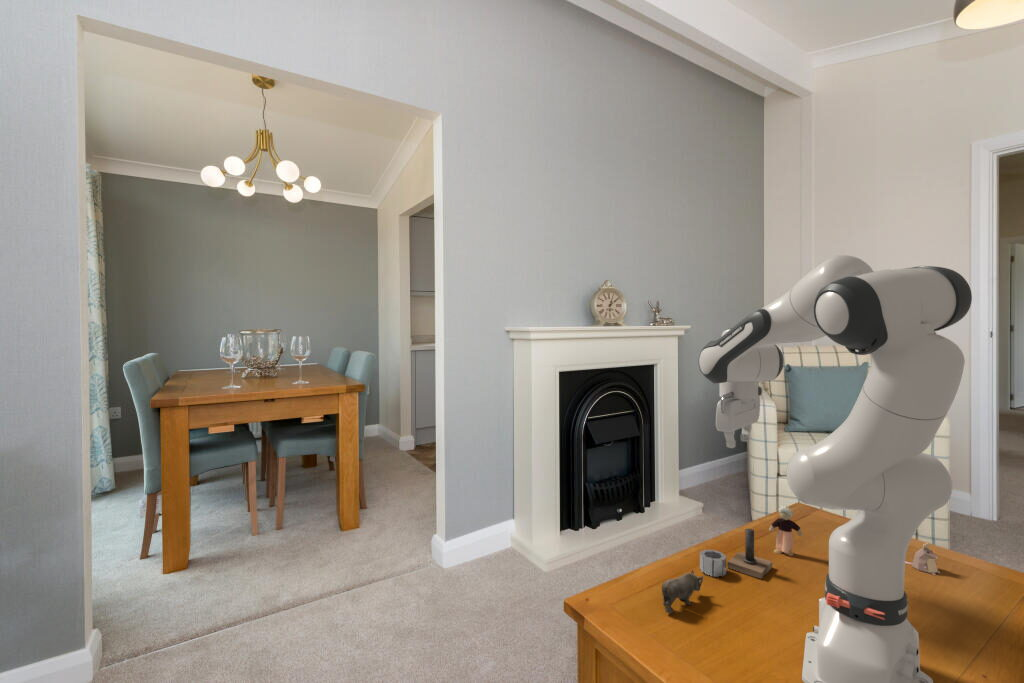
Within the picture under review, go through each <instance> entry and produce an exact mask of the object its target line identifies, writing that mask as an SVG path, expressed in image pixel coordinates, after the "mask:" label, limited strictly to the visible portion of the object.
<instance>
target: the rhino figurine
mask: <svg viewBox="0 0 1024 683" xmlns="http://www.w3.org/2000/svg"><path fill="white" fill-rule="evenodd" d="M703 581H704V576H703V575H702V576H697V575H695V571H694V570H693V569H692V570H691V572H689V573H684V574H683V575H680V576H679V577H675V578H670V579H667V580H665V581H664V582H663V584H662V585H661V594H662V597H663V603H662V605H663V606H664V607H666V608H665V612H666V613H667V614H673V612H674V610H673V609H672V605H673V603H674V602H675V601H676V600H677V599H679V600H681V601H682V600H684V602H683V603H684V604H685V605H687V606H691V604H692V602H691V601H690V598H691V597H692V595H693V593H694V592H699V591H700V590H701V586H702V583H703Z"/></svg>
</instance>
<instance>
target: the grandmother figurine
mask: <svg viewBox="0 0 1024 683" xmlns="http://www.w3.org/2000/svg"><path fill="white" fill-rule="evenodd" d="M778 514H779V516H780V517H779V518H776V519H775V520H774V521H773V522H772V523H771V525H770V526H769V529H768V531H769V532H771V533H772V532H774V530H775V529H776V528H777V533H776V539H775V541H776V542H775V549H774V550H773V553H775V554H779V555H782V554H783V553H784V554H785V555H786V556H790V557H792V556H794V553H793V552H792V551H793V548H794V547H793V546H794V545H793V544H794V534H793V530H794V531H796V532H797V535H798V536H800V537H802V536H803V532H802V530H801V527H800V526H799V524H797V523H796V522H795V521H793V520H791V517H793V515H794V513H793V511H792V509H791V508H790V507H788V506H787V505H786V506H785V505H781V506H780V507H779V508H778Z"/></svg>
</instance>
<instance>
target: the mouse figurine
mask: <svg viewBox="0 0 1024 683" xmlns="http://www.w3.org/2000/svg"><path fill="white" fill-rule="evenodd" d="M929 547H930V543H929V542H926V543H923V545H922V548H920V549H918V550H917V551H915V553H914V557H913V560H912V562H908V561H906V560H905V564H907V565H911V567H912V568H914V569H916V570H918V571H920V572H923V573H927V574H931V575H933V576H936V575H937V574H941V572H940V571H939V569H938V566H937V565H938V564H937V559H938V558H939V557H938V556H937V555H936V554H935V553H934V552H933V550H931V549H930V548H929ZM936 573H937V574H936Z"/></svg>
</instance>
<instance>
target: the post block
mask: <svg viewBox="0 0 1024 683" xmlns="http://www.w3.org/2000/svg"><path fill="white" fill-rule="evenodd" d="M744 531H745V532H744V533H745V534H744V535H745V536H744V538H745V540H744V541H745V543H744V544H745V551H744V552H741V551H738V552H737V553H736V554H735V555H734V556H732V557H731V558H730V559H729V560H728V561H726V568H727V567H728V568H727V569H729V568H730V570H732V569H733V571H735V570H736V572H738V571H739V573H741V574H742V573H743V574H744V575H748V576H750V577H754V578H757V579H760V580H762V579H763V578H764V577H765V576H766V575H767V574H768V573H769V572H770V571H771V569H773V561H772V560H768V559H765V558H762V557H758V556H755V530H754V529H752V528H746V529H745V530H744Z"/></svg>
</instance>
